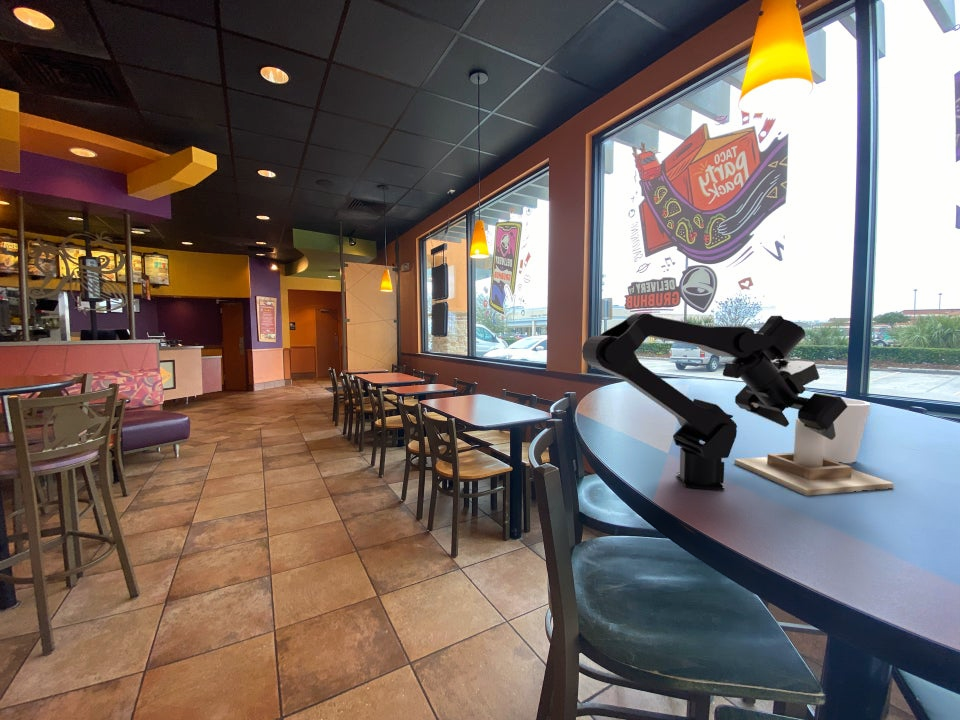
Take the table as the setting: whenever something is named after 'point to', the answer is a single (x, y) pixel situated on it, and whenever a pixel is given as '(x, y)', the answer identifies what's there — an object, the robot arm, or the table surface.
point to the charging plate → (812, 475)
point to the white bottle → (808, 446)
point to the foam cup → (847, 432)
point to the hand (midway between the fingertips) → (808, 431)
